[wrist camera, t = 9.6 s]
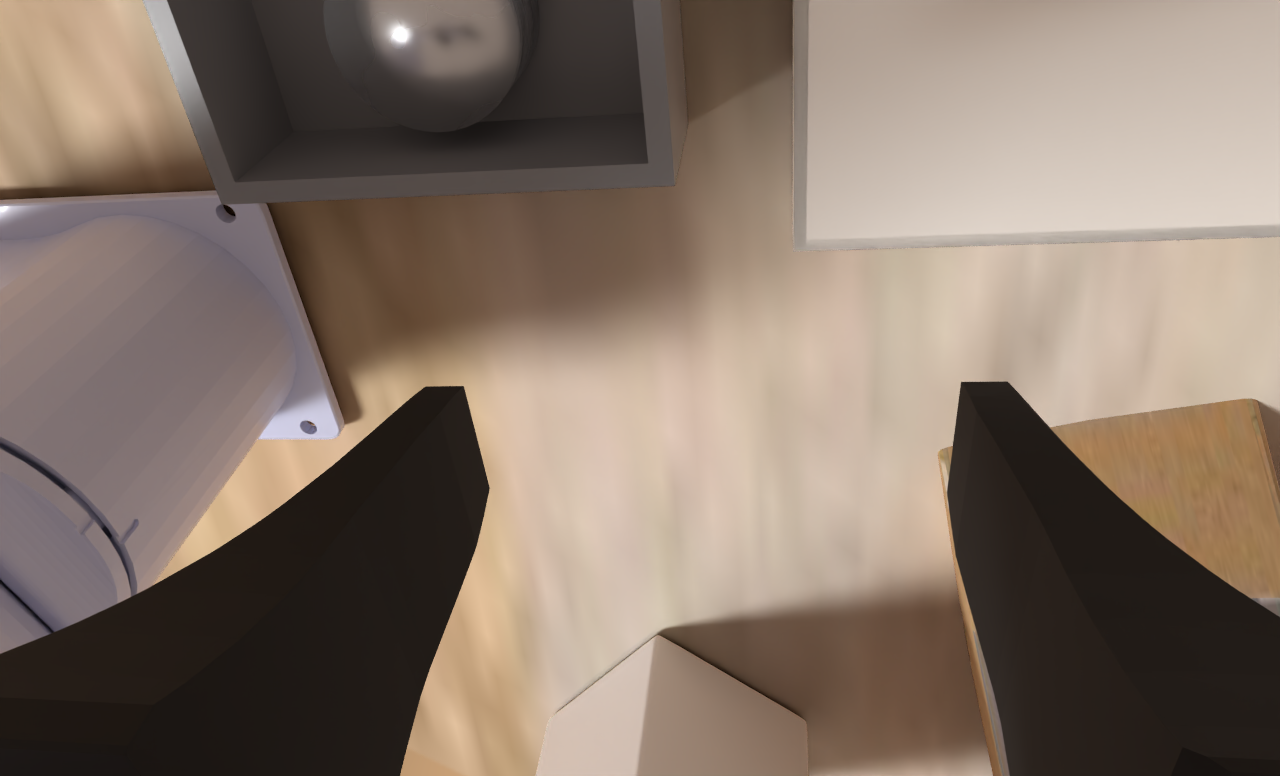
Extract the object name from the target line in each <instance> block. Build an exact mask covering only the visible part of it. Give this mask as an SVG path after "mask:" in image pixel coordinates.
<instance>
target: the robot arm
mask: <svg viewBox="0 0 1280 776" xmlns="http://www.w3.org/2000/svg"><path fill="white" fill-rule="evenodd" d="M228 206H229V207H231V208H232V209H233V211H234V212H235V214H236V216H231V215H230V214H229V213H227V212H226V210H225V209H224V207H223V205H222V204H221V202H220V199H219V196H218V194H217V191H216V190H214V191H191V192H168V193H146V194H123V195H101V196H78V197H55V198H33V199H10V200H0V776H400V773H401V768H402V765H403V761H404V756H405V753H406V749H407V745H408V741H409V738H410V734H411V730H412V726H413V722H414V719H415V715H416V711H417V707H418V704H419V700H420V696H421V693H422V690H423V687H424V684H425V681H426V678H427V675H428V672H429V669H430V667H431V664H432V662H433V659H434V657H435V654H436V651H437V649H438V646H439V644H440V641H441V638H442V636H443V633H444V631H445V628H446V625H447V623H448V620H449V618H450V615H451V613H452V610H453V607H454V605H455V602H456V600H457V597H458V594H459V592H460V589H461V587H462V584H463V581H464V579H465V576H466V573H467V571H468V568H469V565H470V563H471V560H472V557H473V554H474V552H475V549H476V546H477V542H478V538H479V534H480V530H481V526H482V522H483V517H484V512H485V508H486V503H487V498H488V494H489V489H490V488H489V484H488V480H487V476H486V472H485V468H484V464H483V460H482V456H481V453H480V449H479V445H478V441H477V437H476V433H475V429H474V425H473V421H472V417H471V413H470V409H469V405H468V401H467V397H466V393H465V390H464V386H440V387H424V388H423V389H422V390H420V391H419V392H418V393H417V394H415V395H414V396H413V397H412V398H410V399H409V400H408V401H407V402H406V403H405V404H403V405H402V406H401V407H400V408H399V409H398V410H396V411H395V412H394V413H393V414H392V415H391V416H390V417H388V418H387V419H386V420H385V421H384V422H383V423H382V424H380V425H379V426H378V427H377V428H376V429H375V430H374V431H373V432H371V433H370V434H369V435H368V436H367V437H366V438H364V439H363V440H362V441H361V442H360V443H359V444H357V445H356V446H355V447H354V448H353V449H352V450H350V451H349V452H348V453H347V454H346V455H345V456H343V457H342V458H341V459H340V460H339V461H338V462H336V463H335V464H334V465H333V466H332V467H330V468H329V469H328V470H326V471H325V472H324V473H323V474H321V475H320V476H319V477H318V478H316V479H315V480H314V481H312V482H311V483H310V484H309V485H307V486H306V487H305V488H303V489H302V490H301V491H300V492H298V493H297V494H296V495H295V496H293V497H292V498H291V499H289V500H288V501H287V502H286V503H284V504H283V505H282V506H280V507H279V508H278V509H276V510H275V511H273V512H272V513H271V514H269V515H268V516H266V517H265V518H264V519H262V520H261V521H259V522H258V523H256V524H255V525H253V526H252V527H250V528H249V529H247V530H246V531H244V532H243V533H241V534H240V535H238V536H237V537H235V538H234V539H232V540H230V541H229V542H227V543H226V544H224V545H223V546H221V547H220V548H218V549H216V550H215V551H213V552H211V553H210V554H208V555H206V556H205V557H203V558H201V559H199V560H197V561H196V562H194V563H192V564H190V565H189V566H187V567H185V568H183V569H181V570H180V571H178V572H176V573H174V574H173V575H171V576H169V577H167V578H166V579H164V580H162V581H160V582H158V583H157V584H155V585H153V584H154V583H155V582H156V580H157V579H158V577H159V576H160V575H161V573H162V572H163V570H164V569H165V568H166V566H167V565H168V563H169V562H170V561H171V559H172V558H173V556H174V555H175V554H176V552H177V551H178V550H179V548H180V547H181V545H182V544H183V543H184V541H185V540H186V538H187V537H188V536H189V534H190V533H191V531H192V530H193V529H194V527H195V526H196V524H197V523H198V522H199V520H200V519H201V517H202V516H203V515H204V513H205V512H206V511H207V509H208V508H209V506H210V505H211V504H212V502H213V501H214V499H215V498H216V497H217V495H218V494H219V492H220V491H221V490H222V488H223V487H224V485H225V484H226V483H227V481H228V480H229V478H230V477H231V476H232V474H233V473H234V471H235V470H236V469H237V467H238V466H239V465H240V463H241V462H242V460H243V459H244V458H245V456H246V455H247V453H248V452H249V451H250V449H251V448H252V446H253V445H254V444H255V442H256V441H257V439H334V438H336V437H338V436H339V435H340V433H341V431H342V430H343V428H344V419H343V416H342V413H341V411H340V408H339V405H338V402H337V399H336V397H335V394H334V391H333V388H332V385H331V383H330V380H329V377H328V374H327V371H326V369H325V366H324V363H323V360H322V357H321V355H320V352H319V349H318V346H317V343H316V340H315V338H314V335H313V332H312V329H311V326H310V324H309V321H308V318H307V315H306V312H305V310H304V307H303V304H302V301H301V298H300V296H299V293H298V290H297V287H296V284H295V282H294V279H293V276H292V273H291V270H290V268H289V265H288V262H287V259H286V256H285V253H284V251H283V248H282V245H281V242H280V239H279V237H278V234H277V231H276V228H275V225H274V223H273V220H272V217H271V214H270V211H269V209H268V206H267V204H266V203H253V204H229V205H228ZM307 421H310V422H312V423H314V424H315V426H313V425H311V424H309V423H308V422H307ZM947 498H948V505H949V513H950V520H951V528H952V535H953V541H954V548H955V555H956V559H957V562H958V566H959V570H960V574H961V577H962V581H963V585H964V588H965V592H966V596H967V599H968V603H969V606H970V610H971V614H972V617H973V621H974V624H975V628H976V631H977V635H978V638H979V642H980V646H981V649H982V653H983V656H984V660H985V663H986V667H987V671H988V674H989V678H990V681H991V685H992V688H993V692H994V696H995V700H996V705H997V709H998V713H999V718H1000V722H1001V727H1002V733H1003V739H1004V745H1005V751H1006V757H1007V763H1008V769H1009V775H1010V776H1280V617H1279V616H1278V615H1276V614H1274V613H1273V612H1271V611H1270V610H1268V609H1267V608H1265V607H1263V606H1262V605H1260V604H1259V603H1257V602H1256V601H1254V600H1253V599H1251V598H1249V597H1248V596H1246V595H1245V594H1243V593H1242V592H1240V591H1238V590H1237V589H1236V588H1234V587H1233V586H1231V585H1230V584H1228V583H1227V582H1225V581H1224V580H1222V579H1221V578H1220V577H1218V576H1217V575H1215V574H1214V573H1212V572H1211V571H1210V570H1208V569H1207V568H1206V567H1204V566H1203V565H1202V564H1200V563H1199V562H1198V561H1196V560H1195V559H1194V558H1192V557H1191V556H1190V555H1188V554H1187V553H1186V552H1184V551H1183V550H1182V549H1180V548H1179V547H1178V546H1176V545H1175V544H1174V543H1172V542H1171V541H1170V540H1168V539H1167V538H1166V537H1165V536H1163V535H1162V534H1161V533H1160V532H1158V531H1157V530H1156V529H1155V528H1153V527H1152V526H1151V525H1150V524H1149V523H1147V522H1146V521H1145V520H1144V519H1143V518H1142V517H1141V516H1139V515H1138V514H1137V513H1136V512H1135V511H1134V510H1133V509H1131V508H1130V507H1129V506H1128V505H1127V504H1126V503H1125V502H1123V501H1122V500H1121V499H1120V498H1119V497H1118V496H1117V495H1116V494H1115V493H1114V492H1113V491H1111V490H1110V489H1109V488H1108V487H1107V486H1106V485H1105V484H1104V483H1103V482H1102V481H1101V480H1100V479H1099V478H1098V477H1097V476H1096V475H1095V474H1094V473H1093V472H1092V471H1091V470H1090V469H1089V468H1088V467H1087V466H1086V465H1085V464H1084V463H1083V462H1082V461H1081V460H1080V459H1079V458H1078V457H1077V456H1076V455H1075V454H1074V453H1073V452H1072V451H1071V450H1070V449H1069V448H1068V447H1067V446H1066V445H1065V444H1064V443H1063V441H1062V440H1061V439H1060V438H1059V437H1058V436H1057V435H1056V434H1055V433H1054V432H1053V431H1052V430H1051V429H1050V427H1049V426H1048V425H1047V424H1046V423H1045V422H1044V421H1043V420H1042V419H1041V418H1040V416H1039V415H1038V414H1037V413H1036V412H1035V411H1034V410H1033V409H1032V408H1031V406H1030V405H1029V404H1028V403H1027V402H1026V401H1025V400H1024V399H1023V398H1022V396H1021V395H1020V394H1019V393H1018V392H1017V391H1016V390H1015V389H1014V388H1013V387H1012V386H1011V385H1010V384H1009V383H1008V382H961V388H960V396H959V403H958V411H957V419H956V426H955V434H954V442H953V449H952V457H951V464H950V472H949V480H948V487H947Z"/></svg>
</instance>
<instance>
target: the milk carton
mask: <svg viewBox="0 0 1280 776" xmlns="http://www.w3.org/2000/svg"><path fill="white" fill-rule="evenodd" d="M536 776H809V767H808V734H807V723H806V721H805V720H804V719H802V718H801V717H799V716H798V715H796V714H794V713H793V712H791V711H789V710H788V709H786V708H784V707H782V706H781V705H779V704H777V703H776V702H774V701H772V700H770V699H769V698H767V697H765V696H764V695H762V694H760V693H758V692H757V691H755V690H753V689H751V688H750V687H748V686H746V685H745V684H743V683H741V682H739V681H738V680H736V679H734V678H733V677H731V676H729V675H727V674H726V673H724V672H722V671H721V670H719V669H717V668H715V667H714V666H712V665H710V664H709V663H707V662H705V661H703V660H702V659H700V658H698V657H697V656H695V655H693V654H691V653H690V652H688V651H686V650H684V649H683V648H681V647H679V646H678V645H676V644H674V643H672V642H671V641H669V640H667V639H665V638H663V637H661V636H658V635H657V636H655V637H654V638H652V639H651V640H650V641H648V642H647V643H646V644H644V645H643V646H642V647H641V648H639V649H638V650H637V651H635V652H634V653H633V654H631V655H630V656H629V657H628V658H626V659H625V660H624V661H622V662H621V663H620V664H619V665H617V666H616V667H615V668H613V669H612V670H611V671H610V672H608V673H607V674H606V675H604V676H603V677H602V678H601V679H599V680H598V681H597V682H595V683H594V684H593V685H592V686H590V687H589V688H588V689H586V690H585V691H584V692H583V693H581V694H580V695H579V696H578V697H576V698H575V699H574V700H572V701H571V702H570V703H569V704H567V705H566V706H565V707H563V708H562V709H561V710H560V711H558V712H557V713H556V714H555V715H553V716H552V717H551V718H550V719H549V721H548V724H547V728H546V732H545V737H544V741H543V746H542V750H541V754H540V759H539V763H538V768H537V772H536Z"/></svg>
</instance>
